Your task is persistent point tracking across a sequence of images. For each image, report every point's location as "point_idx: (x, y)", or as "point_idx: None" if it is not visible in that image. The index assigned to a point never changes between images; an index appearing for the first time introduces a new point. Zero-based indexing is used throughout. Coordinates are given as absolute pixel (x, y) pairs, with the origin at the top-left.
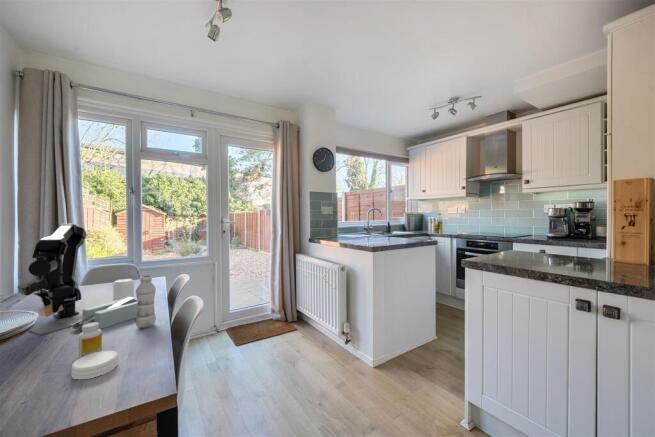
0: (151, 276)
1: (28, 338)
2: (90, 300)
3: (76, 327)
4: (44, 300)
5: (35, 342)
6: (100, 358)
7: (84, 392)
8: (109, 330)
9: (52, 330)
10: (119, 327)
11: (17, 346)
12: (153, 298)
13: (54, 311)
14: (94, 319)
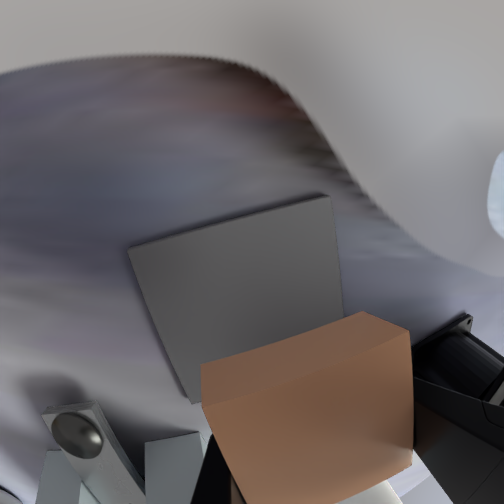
0: None
1: (134, 176)
2: None
3: (45, 416)
4: (473, 444)
5: (8, 212)
6: None
7: None
8: (13, 455)
9: (172, 317)
10: (33, 477)
11: (15, 122)
12: None
13: (212, 448)
14: (80, 484)
